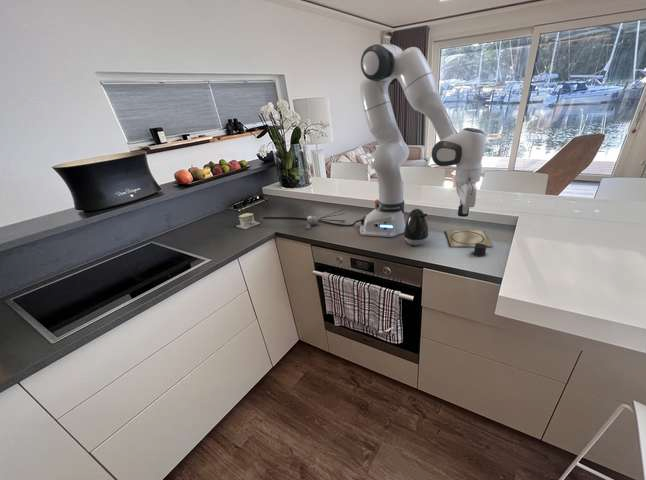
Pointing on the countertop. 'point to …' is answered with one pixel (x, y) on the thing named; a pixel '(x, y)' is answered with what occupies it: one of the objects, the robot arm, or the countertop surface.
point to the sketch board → (467, 238)
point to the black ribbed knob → (461, 211)
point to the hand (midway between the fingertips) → (463, 210)
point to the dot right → (480, 249)
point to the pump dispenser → (416, 227)
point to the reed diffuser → (313, 220)
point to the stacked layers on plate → (247, 221)
